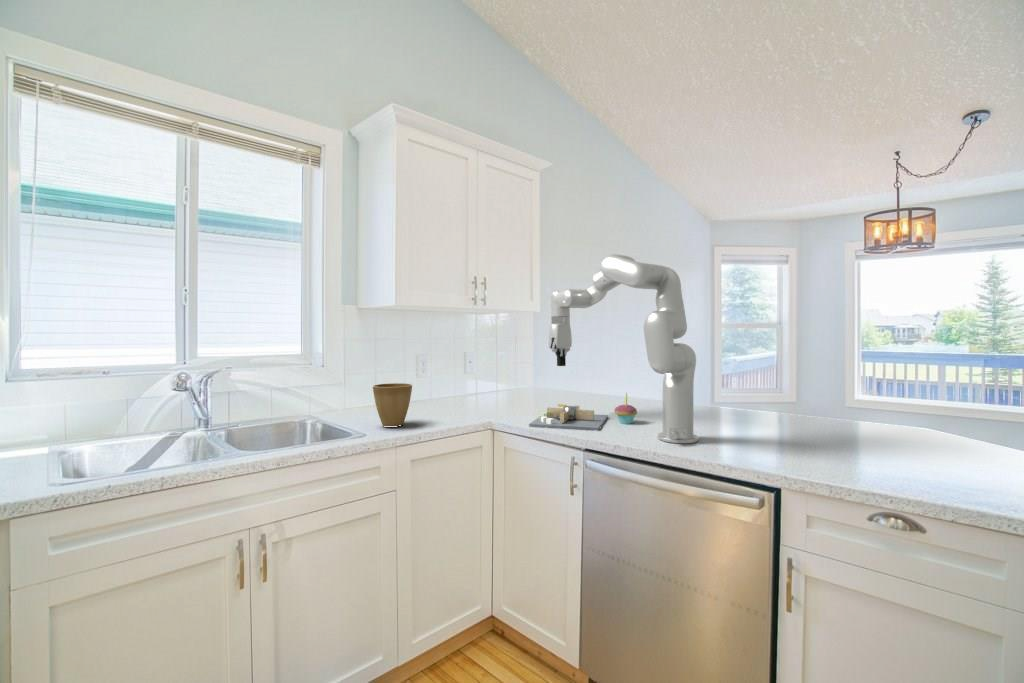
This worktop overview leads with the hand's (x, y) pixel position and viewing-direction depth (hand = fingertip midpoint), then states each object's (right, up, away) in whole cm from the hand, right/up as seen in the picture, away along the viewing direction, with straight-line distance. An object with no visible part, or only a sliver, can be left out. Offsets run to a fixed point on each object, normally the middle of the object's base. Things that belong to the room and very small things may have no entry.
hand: (561, 365), depth 192 cm
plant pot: (-66, -23, -11) cm, 71 cm away
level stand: (+3, -22, -7) cm, 23 cm away
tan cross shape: (+3, -20, -7) cm, 22 cm away
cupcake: (+24, -22, -10) cm, 34 cm away
